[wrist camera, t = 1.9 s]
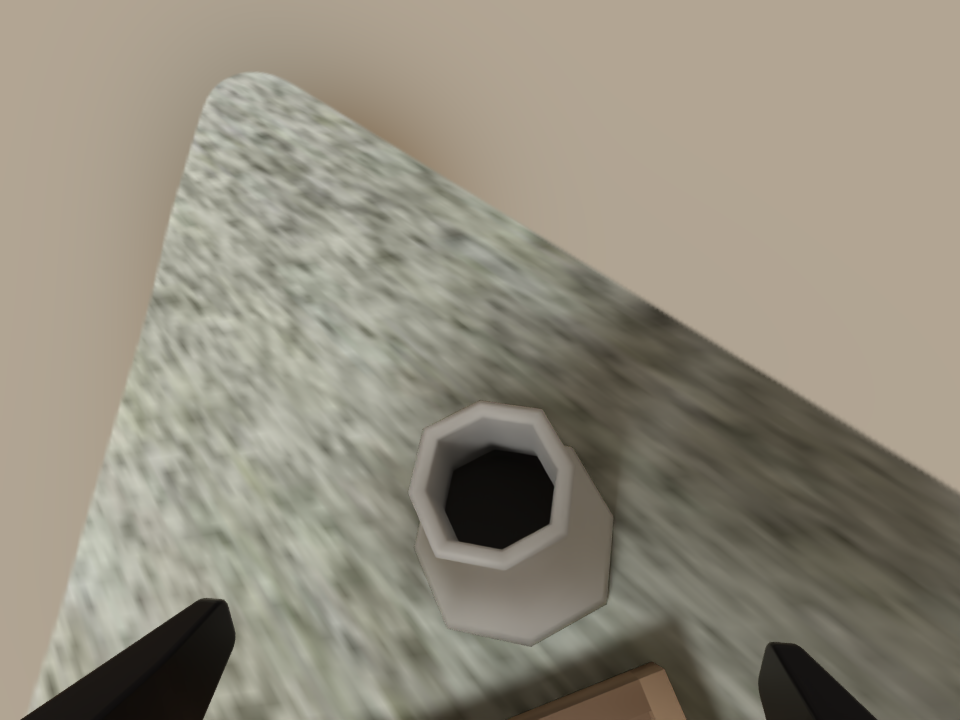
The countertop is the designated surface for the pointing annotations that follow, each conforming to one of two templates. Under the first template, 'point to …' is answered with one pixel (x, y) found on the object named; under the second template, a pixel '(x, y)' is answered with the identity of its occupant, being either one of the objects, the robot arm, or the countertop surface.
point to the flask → (508, 524)
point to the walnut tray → (616, 699)
